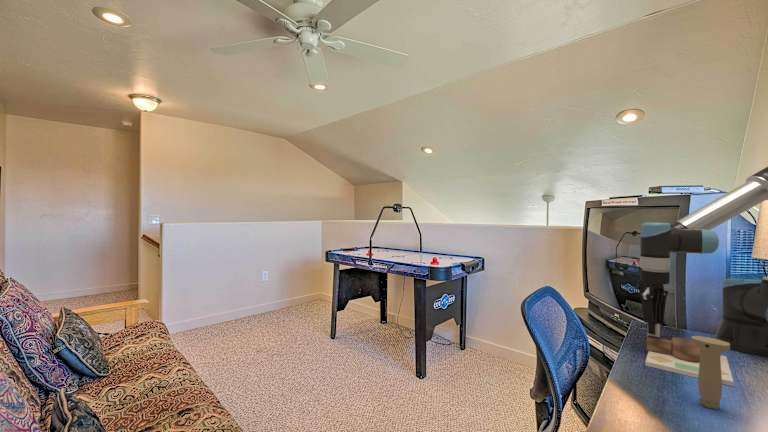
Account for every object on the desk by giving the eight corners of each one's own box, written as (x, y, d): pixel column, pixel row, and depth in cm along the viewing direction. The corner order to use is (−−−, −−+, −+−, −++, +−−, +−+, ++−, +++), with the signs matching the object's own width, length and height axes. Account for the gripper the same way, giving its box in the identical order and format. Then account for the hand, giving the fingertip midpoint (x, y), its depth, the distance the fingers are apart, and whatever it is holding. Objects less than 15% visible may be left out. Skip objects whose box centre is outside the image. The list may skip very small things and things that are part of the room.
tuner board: (726, 360, 104) (726, 356, 104) (733, 386, 88) (733, 381, 88) (651, 345, 116) (651, 341, 116) (645, 365, 100) (645, 361, 100)
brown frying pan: (702, 356, 103) (702, 341, 103) (703, 363, 98) (703, 347, 98) (648, 345, 112) (648, 331, 112) (645, 351, 107) (646, 336, 107)
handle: (726, 416, 75) (726, 347, 75) (687, 402, 80) (688, 338, 80) (731, 409, 77) (732, 342, 77) (694, 396, 83) (695, 334, 83)
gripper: (651, 267, 117) (650, 336, 117) (630, 269, 111) (629, 342, 111) (678, 270, 110) (677, 344, 110) (658, 273, 104) (657, 351, 104)
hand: (653, 343), depth 110 cm, fingers closed
